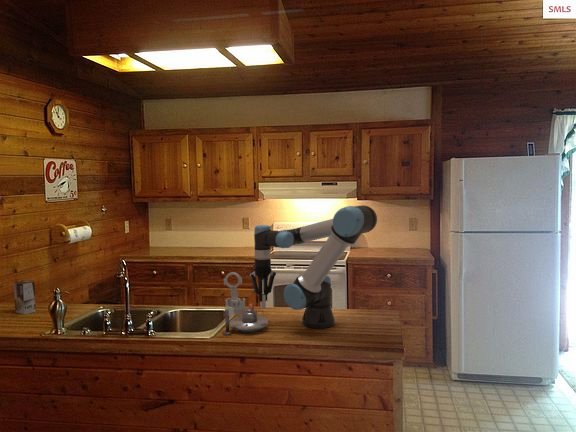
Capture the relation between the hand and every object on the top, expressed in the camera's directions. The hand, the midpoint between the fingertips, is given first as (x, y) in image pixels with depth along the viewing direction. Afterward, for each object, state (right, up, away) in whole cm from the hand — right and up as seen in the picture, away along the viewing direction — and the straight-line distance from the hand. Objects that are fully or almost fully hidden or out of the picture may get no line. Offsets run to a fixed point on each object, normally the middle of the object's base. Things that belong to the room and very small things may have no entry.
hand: (263, 308), depth 223 cm
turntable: (-6, -6, -9) cm, 12 cm away
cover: (-6, -4, -9) cm, 12 cm away
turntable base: (-6, -8, -9) cm, 14 cm away
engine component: (-16, -6, +22) cm, 28 cm away
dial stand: (-15, -8, -15) cm, 23 cm away
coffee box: (-127, -8, +27) cm, 130 cm away
